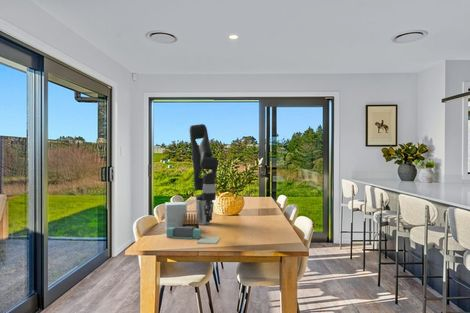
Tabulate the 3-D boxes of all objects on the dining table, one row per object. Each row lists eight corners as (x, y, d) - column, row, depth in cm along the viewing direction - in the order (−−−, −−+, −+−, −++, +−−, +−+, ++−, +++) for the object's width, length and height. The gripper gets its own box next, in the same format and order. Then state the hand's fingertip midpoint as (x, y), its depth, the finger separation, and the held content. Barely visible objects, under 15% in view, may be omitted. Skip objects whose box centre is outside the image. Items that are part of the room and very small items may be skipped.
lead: (176, 236, 200) (176, 226, 200) (193, 236, 199) (193, 227, 199) (174, 237, 196) (174, 227, 196) (192, 238, 195) (192, 228, 195)
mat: (202, 237, 196) (202, 236, 196) (220, 238, 194) (220, 237, 194) (197, 243, 184) (197, 242, 184) (216, 244, 182) (216, 243, 182)
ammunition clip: (182, 232, 210) (182, 213, 210) (182, 231, 212) (182, 213, 212) (198, 231, 211) (198, 213, 211) (198, 231, 213) (198, 212, 213)
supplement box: (183, 226, 226) (183, 201, 226) (186, 230, 214) (187, 204, 214) (164, 227, 222) (164, 202, 222) (166, 232, 210) (166, 205, 210)
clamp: (170, 234, 203) (170, 226, 203) (201, 236, 200) (201, 228, 200) (165, 237, 195) (165, 229, 195) (198, 239, 192) (198, 230, 192)
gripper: (205, 190, 196) (205, 218, 196) (199, 192, 182) (199, 223, 182) (218, 190, 195) (217, 219, 195) (212, 193, 181) (212, 224, 181)
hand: (208, 221), depth 189 cm, fingers open, 4 cm apart
